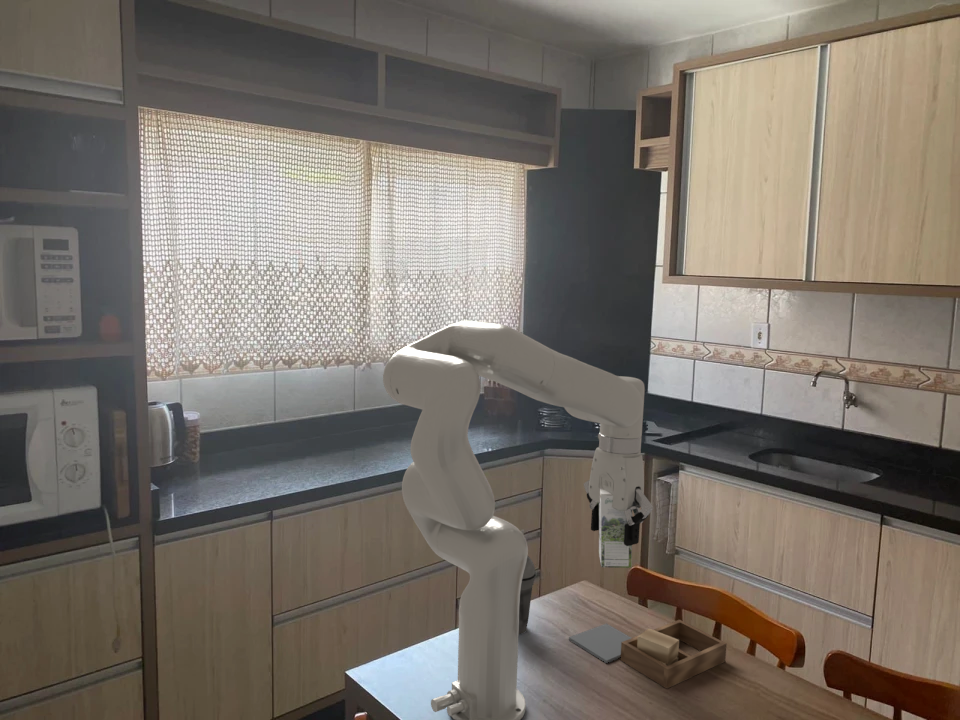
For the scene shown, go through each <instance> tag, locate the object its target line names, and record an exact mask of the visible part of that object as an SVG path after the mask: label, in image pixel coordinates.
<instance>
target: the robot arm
mask: <svg viewBox="0 0 960 720" xmlns="http://www.w3.org/2000/svg"><path fill="white" fill-rule="evenodd" d="M480 377H482V378H485V379H488V380H491V381H492V382H493V381H494V382H495V383H498V384H499V385H502V386H504V387H505V388H506V387H507V388H509V389H511V390H514V391H516V392H518V393H521V394H522V395H525V396H527V397H529V398H531V399H534V400H535V401H538V402H541V403H545V404H547V405H551V406H552V405H553V406H556V407H561V408H564V410H565V411H566V412H567V413H568V414H569V415H571V416H572V417H574V418H577V419H579V420H583V421H587V422H592V423H598V424H599V425H600V426H599V433H598V434H597V439H598V441H599V444H598V447H596V449H595V451H594V453H593V459H592V463H591V468H590V475H589V479H588V480H587V481H585V482H583V487H584V491H585V492H586V498H587V500H588V502H589V509H590V510H591V520H590V522H591V523H590V530H591V531H593V532H596V531H599V503H600V488H601V489H603V490H605V491H608V492H609V493H611V494H612V495H613V501H612V507H613V508H614V509H616V510H619V511H624V513H625V516H626V519H627V521H628V524H625V532H624V545H626V546H630V545H632V546H633V545H637V544H638V543H640V542H639V541H640V526H641V524H642V523H644V521H645V520H646V519H647V518H649V515H650V514H651V513H652V511H653V510H654V506H653V504H652V503H651V501H650V500H649V499H648V497H646V495H645V472H644V471H645V470H644V469H645V468H644V461H643V459H644V458H643V455H642V454H641V449H642V436H643V435H642V434H643V419H644V407H645V404H644V403H645V383H644V381H642V379H640V378H636V377H633V376H621V375H620V376H619V375H615V374H614V373H612V372H609V371H606V370H604V369H602V368H599V367H596V366H593V365H591V364H588V363H586V362H583V361H580V360H578V359H577V358H574V357H571V356H569V355H566V354H563V353H560V352H558V351H556V350H555V349H552V348H550V347H548V346H546V345H545V344H542V343H541V342H539V341H537V340H535V339H533V338H532V337H530V336H529V335H526V334H524V333H522V332H521V331H519V330H517V329H515V328H513V327H510V326H508V325H505V324H502V323H501V324H500V323H494V322H493V323H491V322H486V321H485V322H484V321H476V320H463V321H462V320H461V321H458V322H455V323H451V324H450V325H448V326H447V325H446V326H445V327H443V328H441V329H438V330H437V331H435V332H433V333H430V334H429V335H427V336H424V337H422V338H420V339H418V340H416V341H414V342H412V343H410V344H408V345H407V346H406V345H405V347H402V348H401V349H399V350H397V351H396V352H395V353H394V354H392V355H391V357H390V358H389V359H388V360H387V362H386V364H385V366H384V370H383V374H382V382H383V387H384V389H385V392H387V395H388V396H389V397H390V398H392V399H393V400H394V401H395V402H398V403H399V404H402V405H404V406H407V407H412V408H415V409H418V410H421V413H420V415H419V418H418V420H417V423H416V425H415V428H414V431H413V435H412V438H411V441H410V456H411V459H412V462H411V463H410V464H409V465H408V467H407V469H406V470H405V472H404V475H403V477H402V483H401V493H402V499H403V503H404V505H405V507H406V510H407V511H408V514H409V515H410V516H411V518H412V519H413V522H414V524H415V525H416V527H417V528H418V531H420V533H421V535H422V537H423V538H424V540H425V541H426V543H427V545H428V546H429V548H430V549H431V550H432V552H434V554H435V555H437V556H438V557H439V558H441V559H442V560H444V561H446V562H448V563H449V564H452V565H453V566H456V567H458V568H459V569H461V570H463V571H465V572H467V573H468V574H469V581H468V583H467V585H466V586H465V588H464V589H463V590H462V593H461V595H460V598H459V599H460V600H459V606H458V608H459V609H458V648H457V649H458V652H457V653H458V654H457V680H455V681H452V682H451V689H450V690H448V691H447V692H446V694H445V695H441V696H437V697H435V698H432V699H431V700H430V706H431V709H432V711H433V712H435V713H437V712H440V711H442V710H445V709H446V712H447V714H448V716H449V717H451V718H452V719H453V720H521V719H523V717H524V715H525V714H526V708H527V707H526V706H527V705H526V703H527V702H526V698H525V697H524V695H523V693H522V692H521V691H520V690H519V689H518V688H517V686H518V684H517V683H518V659H519V658H518V656H519V634H518V633H519V603H520V590H521V583H522V578H523V573H524V569H525V565H526V561H527V556H529V554H528V553H529V546H528V542H527V538H526V537H525V534H524V535H523V533H522V532H521V530H520V529H519V528H518V527H517V526H516V525H514V524H513V523H511V522H509V521H507V520H505V519H503V518H501V517H498V516H496V515H494V514H495V508H496V500H495V495H494V491H493V489H492V487H491V484H490V482H489V481H488V479H487V476H486V475H485V473H484V471H483V469H482V466H481V465H480V463H479V461H478V459H477V457H476V455H475V453H474V451H473V449H472V446H471V444H470V441H469V436H468V434H469V433H468V432H469V426H470V422H471V420H472V416H473V414H474V411H475V409H476V408H477V405H478V403H479V399H480V395H481V380H480V379H481V378H480ZM631 510H632V513H631Z"/></svg>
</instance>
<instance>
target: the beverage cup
mask: <svg viewBox="0 0 960 720" xmlns="http://www.w3.org/2000/svg"><path fill="white" fill-rule="evenodd" d="M520 531H521V532H522V533H523V535H524V536H525V529H521V530H520ZM534 564H535V563H534V562H533V560H532V558H531V557H530V556H529V555H528V556H527V561H526V565H525V569H524V573H523V578H522V583H521V590H520V603H519V633H518V635H522V634H525V633H526V632H527V628H528V624H529V617H530V609H531V600H532V593H533V586H534V583H535V579H536V570H535V565H534Z"/></svg>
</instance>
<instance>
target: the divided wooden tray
mask: <svg viewBox="0 0 960 720" xmlns="http://www.w3.org/2000/svg"><path fill="white" fill-rule="evenodd" d="M653 630H655V631H657V632H660V633H662V634H665V635H668V636H670V637H673V638H675V639H678V640H679V641H681V642H683V643H685V644H686V645H688V646H691V647H692V648H694V649H696V650H698V651H699V652H696V653H694V654H692V655H690V654H689V653H687V652H685V651H683V650H682V649H680V648H679V651H678V656H677V657H678V662H675V663H673V664H671V665H668V666H667V665H665V664H663V663H662V662H660V661H658V660H656V659H655V658H653V657H651V656H649V655H648V654H646V653H644V652H643V651H641V650H639V649H637V642H638V636H639V635H636V636H633V637H631V639H628V640H626V641H623V642H621V658H619V659H620V661H621V662H622V661H623V663H624V662H625V663H624V664H626V665H627V664H628V666H629V667H630V668H632V669H634V670H636V671H637V672H639V673H641V675H644V676H645V677H646V678H649V679H650V680H652V681H654V682H655V683H657V684H658V685H660V686H661V687H663V688H665V689H670V688H671V687H674V686H675V685H678V684H680V683H681V682H684V681H686V680H688V679H691V678H693V677H694V676H697V675H699V674H701V673H703V672H706V671H708V670H710V669H712V668H715V667H717V666H719V665H721V664H723V663H725V662H726V660H727V659H726V657H727V643H726V642H725V641H722V640H721V639H719V638H717V637H714V636H713V635H710V634H709V633H707V632H704V631H703V630H700V629H699V628H697V627H695V626H693V625H691V624H689V623H687V622H686V621H683V620H681V619H678V620H677V619H676V620H675V621H672V622H670V623H667V624H664V625H662V626H659V627H657V628H654V629H653Z"/></svg>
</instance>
